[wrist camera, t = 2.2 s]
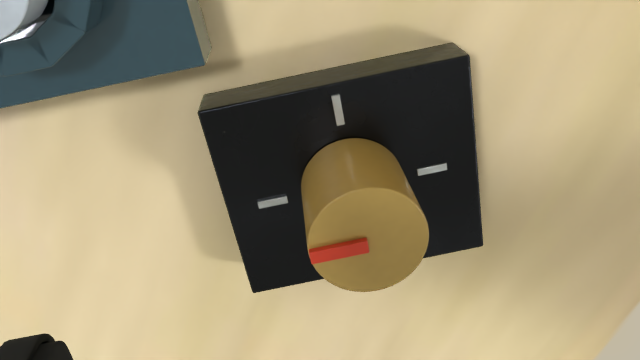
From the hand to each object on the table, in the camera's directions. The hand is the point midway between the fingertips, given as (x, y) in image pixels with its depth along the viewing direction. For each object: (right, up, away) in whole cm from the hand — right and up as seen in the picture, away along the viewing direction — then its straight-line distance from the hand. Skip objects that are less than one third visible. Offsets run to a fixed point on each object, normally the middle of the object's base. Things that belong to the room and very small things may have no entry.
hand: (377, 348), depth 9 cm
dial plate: (0, +3, +20) cm, 20 cm away
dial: (+1, +2, +18) cm, 18 cm away
